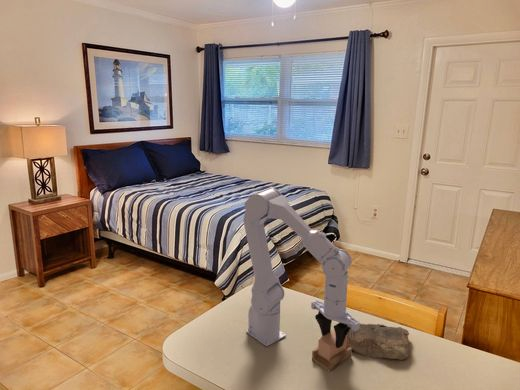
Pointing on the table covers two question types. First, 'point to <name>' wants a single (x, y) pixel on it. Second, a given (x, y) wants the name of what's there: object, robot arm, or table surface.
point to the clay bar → (330, 346)
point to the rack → (333, 362)
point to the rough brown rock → (379, 341)
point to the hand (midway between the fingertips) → (332, 342)
